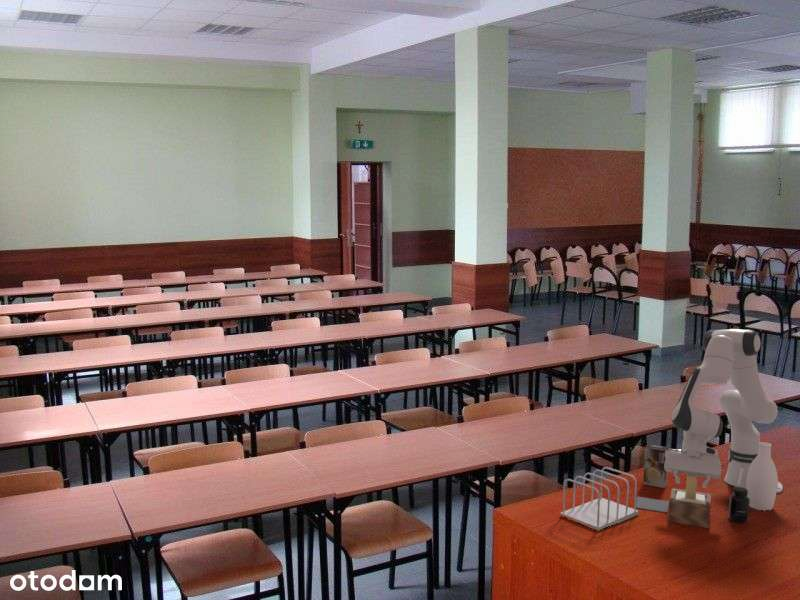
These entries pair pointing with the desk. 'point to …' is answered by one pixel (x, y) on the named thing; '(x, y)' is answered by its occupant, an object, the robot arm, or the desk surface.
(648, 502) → the mat
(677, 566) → the desk surface
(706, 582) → the desk surface
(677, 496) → the lid
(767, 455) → the bottle
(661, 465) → the coffee box
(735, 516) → the supplement bottle
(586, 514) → the file sorter
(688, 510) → the box
